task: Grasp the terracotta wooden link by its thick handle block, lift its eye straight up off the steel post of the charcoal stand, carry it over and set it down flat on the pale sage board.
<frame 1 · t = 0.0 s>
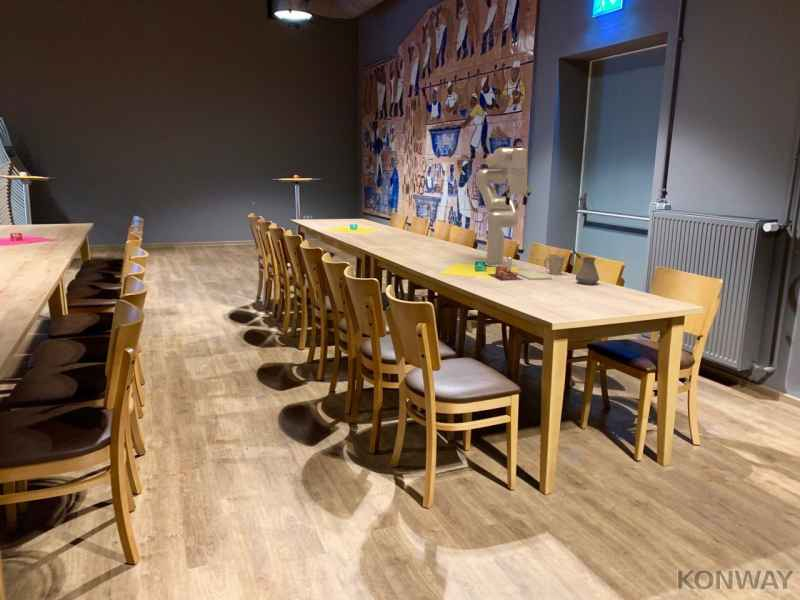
hand: (516, 204, 332), 37 cm above the table, tool pointing down, fingers open, 9 cm apart
board: (531, 278, 326), on the table
coffee pot: (581, 281, 320), on the table
link: (502, 275, 326), point 1 cm above the table, touching stand
mug: (551, 273, 341), on the table
stand: (505, 278, 322), on the table
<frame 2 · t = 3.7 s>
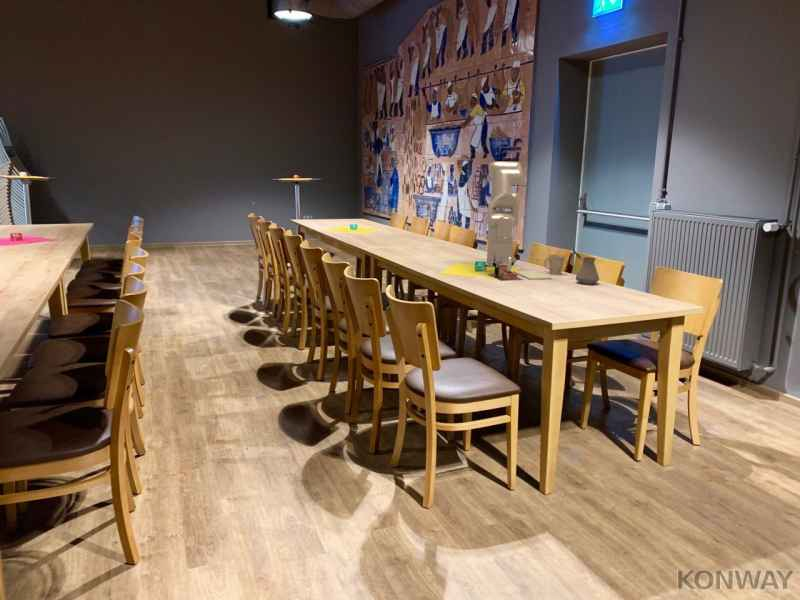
hand: (502, 274, 325), 2 cm above the table, tool pointing down, fingers closed on link, 5 cm apart
link: (502, 275, 326), point 1 cm above the table, touching gripper, stand
everything else where it was.
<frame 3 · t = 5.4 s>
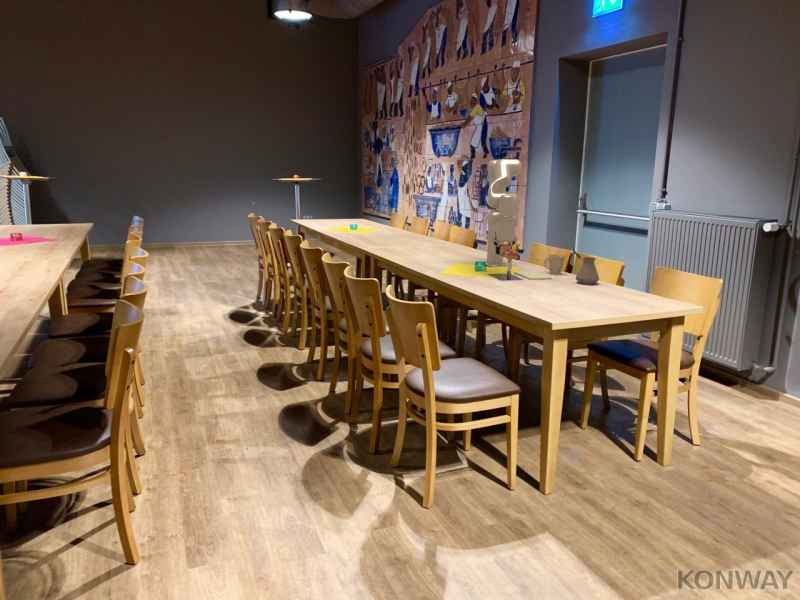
hand: (503, 253, 324), 12 cm above the table, tool pointing down, fingers closed on link, 5 cm apart
link: (503, 254, 324), point 12 cm above the table, touching gripper
everything else where it was.
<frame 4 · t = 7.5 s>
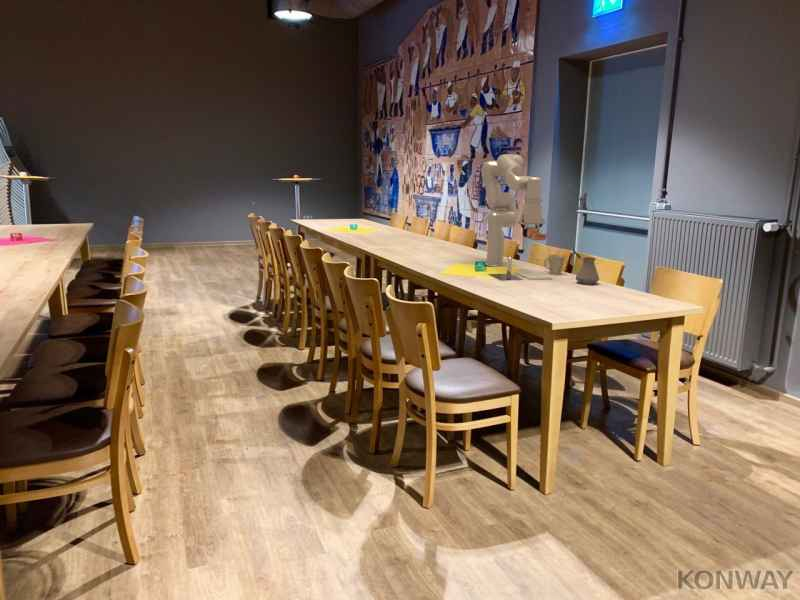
hand: (530, 236, 325), 21 cm above the table, tool pointing down, fingers closed on link, 5 cm apart
link: (530, 237, 325), point 21 cm above the table, touching gripper
everything else where it was.
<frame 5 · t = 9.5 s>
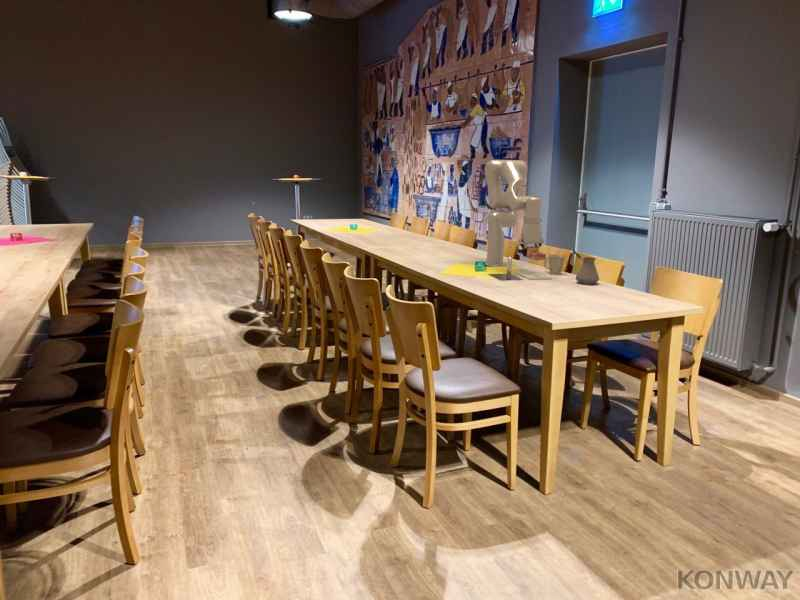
hand: (530, 255, 327), 11 cm above the table, tool pointing down, fingers closed on link, 5 cm apart
link: (530, 256, 327), point 11 cm above the table, touching gripper
everything else where it was.
when the fingers open (4 cm above the table, at t = 11.3 s): link drops 1 cm, resting on board.
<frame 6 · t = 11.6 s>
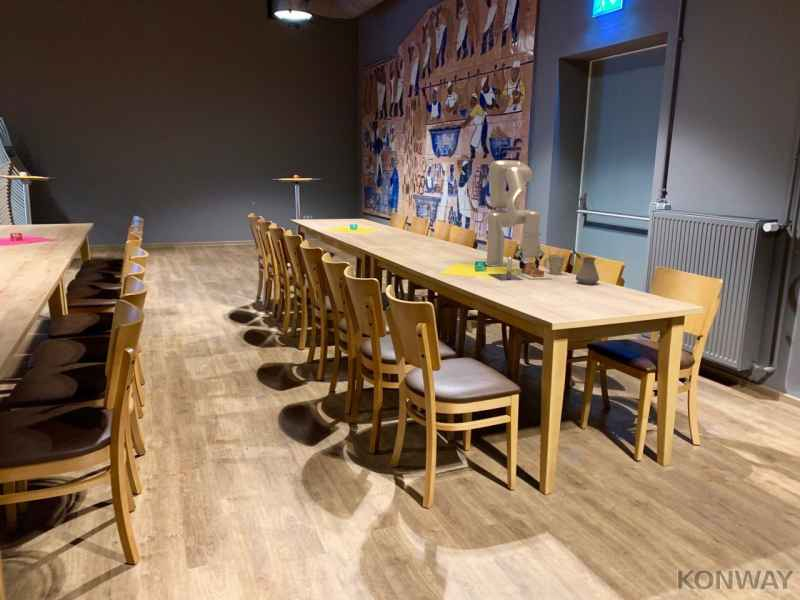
hand: (528, 268, 328), 4 cm above the table, tool pointing down, fingers open, 8 cm apart
link: (528, 272, 329), point 2 cm above the table, touching board
everything else where it was.
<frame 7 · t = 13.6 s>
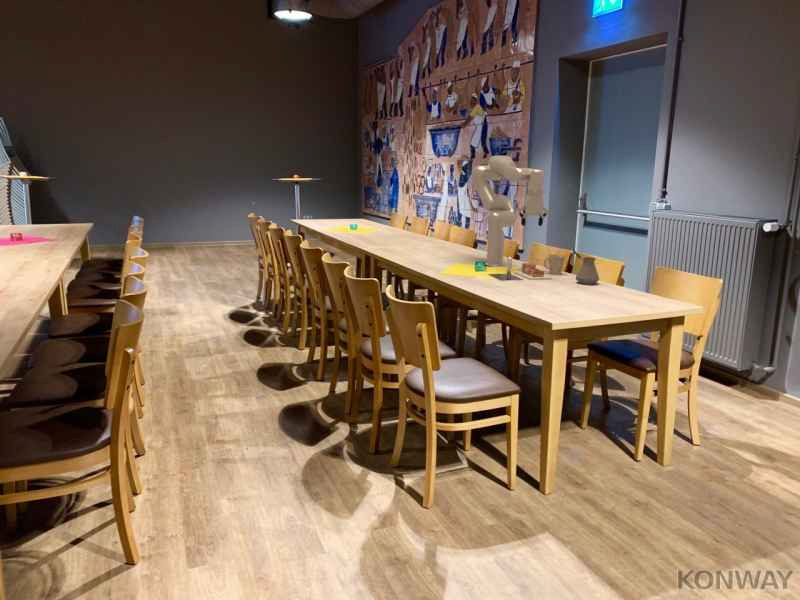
hand: (531, 225, 333), 26 cm above the table, tool pointing down, fingers open, 9 cm apart
nothing on the table moved.
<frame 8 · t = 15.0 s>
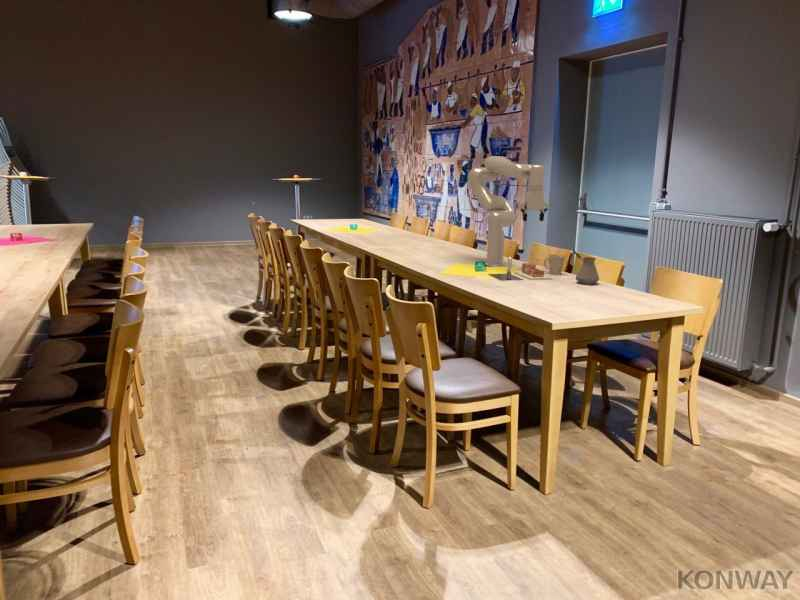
hand: (533, 220, 335), 28 cm above the table, tool pointing down, fingers open, 9 cm apart
nothing on the table moved.
at the end: link inside the target area on the board (0.1 cm from its centre), point 2.0 cm above the board's base; link tilted 0°; the gripper is holding nothing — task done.
